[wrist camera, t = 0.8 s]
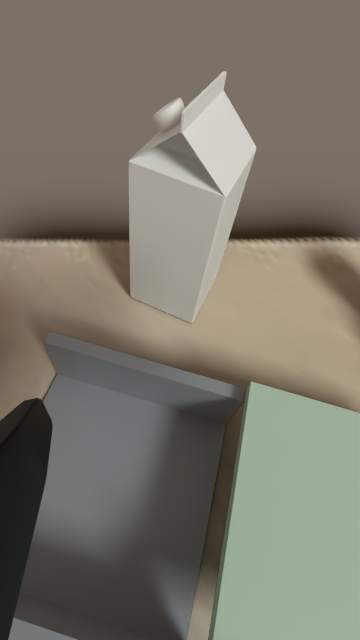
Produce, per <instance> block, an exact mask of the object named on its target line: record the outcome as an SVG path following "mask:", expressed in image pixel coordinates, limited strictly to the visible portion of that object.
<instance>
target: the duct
mask: <svg viewBox="0 0 360 640" xmlns="http://www.w3.org/2000/svg"><path fill="white" fill-rule="evenodd" d="M43 343H44V345H45V348H46V350H47V352H48V354H49V356H50V359H51V361H52V363H53V365H54V367H55V370H56V372H57V376H56V378H55V380H54V382H53V383H52V385H51V387H50V389H49V391H48V393H47V395H46V397H45V399H44V401H43V403H44V405H45V407H46V409H47V411H48V413H49V416H50V418H51V420H52V424H53V429H52V438H51V446H50V454H49V462H48V470H47V477H46V483H45V487H44V492H43V496H42V500H41V504H40V509H39V513H38V517H37V521H36V526H35V530H34V534H33V538H32V542H31V547H30V551H29V555H28V559H27V563H26V568H25V572H24V576H23V580H22V585H21V589H20V593H19V597H18V601H17V606H16V610H15V614H14V618H13V623H12V627H11V631H10V635H9V639H8V640H187V636H188V630H189V625H190V619H191V613H192V608H193V602H194V597H195V591H196V586H197V580H198V575H199V569H200V564H201V558H202V553H203V547H204V542H205V536H206V531H207V525H208V520H209V514H210V509H211V503H212V498H213V492H214V486H215V481H216V475H217V470H218V464H219V459H220V453H221V448H222V442H223V437H224V431H225V426H226V423H227V422H228V421H229V420H230V418H231V417H232V416H233V415H234V413H235V412H236V411H237V409H238V408H239V407H240V406H241V404H242V403H243V402H244V397H245V390H246V389H245V388H242V387H239V386H235V385H232V384H228V383H225V382H222V381H218V380H215V379H211V378H208V377H205V376H201V375H198V374H194V373H191V372H187V371H184V370H181V369H177V368H174V367H170V366H167V365H164V364H160V363H157V362H153V361H150V360H146V359H143V358H140V357H136V356H133V355H129V354H126V353H123V352H119V351H116V350H112V349H109V348H105V347H102V346H99V345H95V344H92V343H88V342H85V341H82V340H78V339H75V338H71V337H68V336H65V335H61V334H58V333H54V332H51V331H49V333H48V335H47V336H46V338H45V340H44V341H43Z"/></svg>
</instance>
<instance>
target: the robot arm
mask: <svg viewBox="0 0 360 640" xmlns="http://www.w3.org/2000/svg"><path fill="white" fill-rule="evenodd" d="M52 429H53V424H52V420H51V418H50V416H49V413H48V411H47V409H46V407H45V405H44V403H43V401H42V400H41V399H39V398H35V399H30V400H25V401H23V402H22V403H21V404H20V405H18V406H17V407H16V408H15V409H14V410H12V411H11V412H10V413H9V414H8V415H6V416H5V417H4V418H3V419H2V420H1V421H0V640H8V639H9V635H10V631H11V627H12V623H13V618H14V614H15V610H16V606H17V601H18V597H19V593H20V589H21V585H22V580H23V576H24V572H25V568H26V563H27V559H28V555H29V551H30V547H31V542H32V538H33V534H34V530H35V526H36V521H37V517H38V513H39V509H40V504H41V500H42V496H43V492H44V487H45V483H46V477H47V470H48V462H49V454H50V446H51V438H52Z"/></svg>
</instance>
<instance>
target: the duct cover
mask: <svg viewBox="0 0 360 640" xmlns="http://www.w3.org/2000/svg"><path fill="white" fill-rule="evenodd" d="M208 640H360V413H358V412H355V411H351V410H348V409H344V408H341V407H337V406H334V405H331V404H327V403H324V402H320V401H317V400H313V399H310V398H306V397H303V396H300V395H296V394H293V393H289V392H286V391H282V390H279V389H276V388H272V387H269V386H265V385H262V384H258V383H255V382H252V381H251V382H250V384H249V385H248V386H247V390H246V396H245V403H244V410H243V416H242V423H241V429H240V436H239V442H238V449H237V455H236V462H235V468H234V475H233V481H232V488H231V494H230V501H229V507H228V514H227V520H226V527H225V533H224V540H223V546H222V553H221V559H220V566H219V572H218V579H217V585H216V592H215V598H214V605H213V611H212V618H211V624H210V631H209V637H208Z"/></svg>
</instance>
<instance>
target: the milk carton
mask: <svg viewBox="0 0 360 640" xmlns="http://www.w3.org/2000/svg"><path fill="white" fill-rule="evenodd" d="M226 74H227V72H225V71H223V72H222V73H221V74H220V75H219V76H218V77H217V78H216V79H215V80H214V81H213V82H212V83H211V84H210V85H209V86H208V87H207V88H206V89H205V90H204V91H202V92H201V93H200V94H199V95H198V97H196V98H195V99H194V100H193V101H192V102H191V103H190V104H189V105H188V106H187V107H186V108H185V107H184V104H183V102H182V100H181V98H177V99H175V100H173V101H172V102H170V103H169V104H167V105H166V106H164V107H163V108H161V109H160V110H159V111H157V112H156V113H155V114H154V116H153V119H154V121H155V123H156V124H157V126H158V129H159V130H160V131H159V132H158V133H157V134H156V135H155V136H154V137H153V138H152V139H151V140H150V141H149V142H148V143H147V144H146V145H145V146H143V147H142V148H141V149H140V150H139V151H138V152H137V153H136V154H135V155H134V156H133V157H132V158H131V159H130V160H129V167H128V175H129V177H128V180H129V181H128V183H129V184H128V185H129V254H130V297H132V298H134V299H136V300H139V301H141V302H143V303H146V304H148V305H150V306H152V307H155V308H157V309H159V310H162V311H164V312H166V313H168V314H171V315H173V316H175V317H178V318H180V319H182V320H185V321H187V322H189V323H193V322H194V320H195V318H196V316H197V314H198V312H199V310H200V308H201V306H202V304H203V302H204V301H205V299H206V297H207V295H208V293H209V291H210V289H211V287H212V285H213V283H214V281H215V279H216V276H217V273H218V270H219V267H220V263H221V260H222V257H223V254H224V251H225V247H226V244H227V241H228V238H229V234H230V231H231V228H232V225H233V222H234V218H235V215H236V212H237V208H238V206H239V202H240V199H241V196H242V193H243V190H244V186H245V183H246V180H247V177H248V174H249V170H250V167H251V164H252V161H253V158H254V154H255V151H256V146H255V144H254V142H253V141H252V139H251V137H250V135H249V134H248V132H247V130H246V128H245V127H244V125H243V123H242V122H241V120H240V118H239V116H238V115H237V113H236V111H235V109H234V108H233V106H232V104H231V102H230V101H229V99H228V97H227V95H226V94H225V92H224V90H223V89H224V84H225V78H226Z"/></svg>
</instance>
